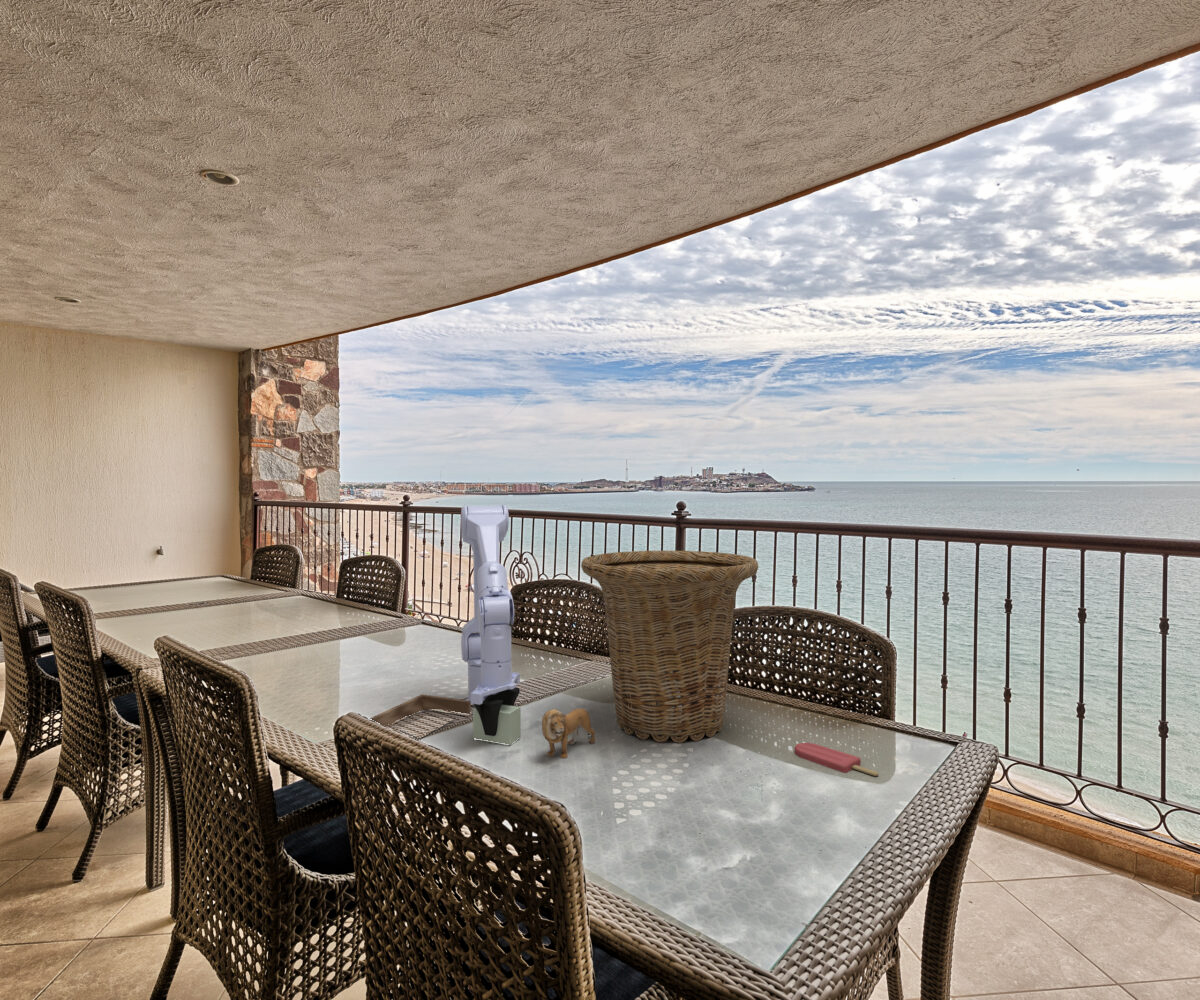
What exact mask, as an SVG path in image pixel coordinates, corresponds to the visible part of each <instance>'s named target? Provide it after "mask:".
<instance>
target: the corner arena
mask: <svg viewBox="0 0 1200 1000" xmlns="http://www.w3.org/2000/svg"><path fill="white" fill-rule="evenodd" d="M429 709H443V710H448V711H455V712H461V713H470V712H471V713H472V706H471V701H467V700H465V699H461V698H460V699H459V698H452V697H451V698H450V697H444V696H436V695H431V694H430V695H429V694H423V693H422V694H419V695H417V696H415V697H413V698H411V699H408V700H407V701H405V702H402V703H400V704H398V705H396V706H394V707H392V708H390V709H387V710H385V711H383V712H380V713H379V714H377V715H375V716H372V717H370V718H369V719H372V720H374V721H376V722H378V723H380V724H382V725H385V726H388V728H390V727H391V726H390V725H392V723H393V722H395V721H396V720H398V719H401V718H403V717H405V716H409V715H412V714H414V713H416V714H417V712H418V713H419V711H420V712H422V711H426V710H429ZM414 715H415V714H414ZM412 716H413V715H412ZM388 724H389V725H388ZM392 726H393V725H392ZM396 729H397V730H398V728H396ZM400 731H401V730H400ZM401 732H403V731H401ZM404 733H405V734H408V733H406V732H404ZM408 735H410V734H408ZM410 736H413V735H410ZM413 737H415V736H413ZM415 738H417V737H415ZM417 740H419V738H418V739H417Z"/></svg>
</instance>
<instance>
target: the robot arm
mask: <svg viewBox="0 0 1200 1000" xmlns="http://www.w3.org/2000/svg"><path fill="white" fill-rule="evenodd" d="M460 513H461V514H460V527H461V529H460V530H461V539H462V542H464V543H466V544H468V545H470V547H471V550H472V553H473V554H472V555H473V556H472V561H473V565H472V566H473V617H472V619H470V620H469V621H467V623H465V624H464V625H463V626H462V629H461V640H460V643H461V644H460V645H461V646H460V647H461V649H460V650H461V651H460V652H461V659H462V661H463V662H465V663H467V684H468V686H467V688H468V689H467V693H468V695H467V696H468V697H467V698H465V699H464V700H467V701H471V704H473V705H474V706H473V707H474V708H476V710H477V711H478V713H479V716H480V718H481V722H482V725H483V729H484V733H485V735H489V736H495V735H496V733H497V727H498V716H499V711H500V708H501V705H509V706H514V705H515V703H516V701H517V698H518V696H519V695H520V692H521V689H520V687H518V684H520V682H521V679H520V678H521V673H520V672H513V671H512V626H513V625H514V620H515V604H514V598H513V595H512V592H511V590H509V583H508V573H507V568H506V567H505V566H504V565H502V564H501V563H500V543H501V542H503V541H504V539H505V537H506V535H507V532H508V531H509V526H510V524H509V519H510V518H509V516H510V515H509V508H508V507H507V506H506V505H505V504H501V505H465V504H463V506H462V507H461V511H460Z"/></svg>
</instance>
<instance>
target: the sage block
mask: <svg viewBox="0 0 1200 1000" xmlns="http://www.w3.org/2000/svg"><path fill="white" fill-rule="evenodd" d="M521 716H522V715H521V706H516V705H515V706H509V705H501V708H500V711H499V716H498V727H497V733H496V735H495V736H489V735H485V733H484V729H483V725H482V722H481V718H480V716H479V713H478V711H477V710H476V708H475V707H473V708H472V739H473V738H476V739H482V740H488V741H493V742H499V743H505V744H509V745H510V744H512V743H513V742H514V741H516V740H517V739H518V738H520V737H521V738H522V734H521V733H522V731H521V730H522V727H521V725H522V724H521V723H522V722H521V720H522V719H521ZM516 742H517V741H516ZM512 745H513V744H512Z"/></svg>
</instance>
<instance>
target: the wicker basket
mask: <svg viewBox="0 0 1200 1000" xmlns="http://www.w3.org/2000/svg"><path fill="white" fill-rule="evenodd" d="M580 564H581V566H580V567H581V570H582V572H583V573H584V574H585V575H587V576H588V577H590V578H592V579H594V580H596V582H597V583H598V584H599V586H600V588H601V590H602V595H603V601H604V609H605V618H606V619H605V620H606V630H607V640H608V651H609V659H610V671H611V679H612V682H611V683H612V690H613V691H612V692H613V699H614V700H613V701H614V707H615V715H616V722H617V726H618V728H619V729H620V730H622V729H623V730H624V733H626V734H627V735H629V736H630V735H633V734H634V733H635V735H636V737H637V738H639V739H640V740H647V739H648V738H650V735H651V737H652V739H653V740H654V741H655V742H657V743H665V742H667V741H668V739H669V738H671V740H672V741H673V742H674V743H677V744H682V743H684V742H685V741H687V740H688V738H690V739H691V740H692V741H694V742H699V741H701V740H703V738H704V736H707V737H708V738H712V737H714V736H715V734H716V733H717V732H721V731H722V729H723V724H724V715H725V709H726V708H725V706H726V697H727V687H728V677H729V675H728V674H729V667H730V666H729V664H730V655H731V654H730V653H731V642H732V632H733V622H734V610H735V601H736V600H735V599H736V596H737V595H736V594H737V591H738V589H739V587H740V585H741V584H742V583H743V582H744V581H745V580H747V579H750V578H752V577H753V576H754V575H756V574H757V572H758V570H759V562H758V560H756V559H755V558H753V557H750V556H747V555H743V554H736V553H735V554H734V553H729V552H718V551H696V550H634V551H632V550H631V551H618V552H608V553H606V552H605V553H600V554H599V553H598V554H594V555H590V556H587V557H584V558H583V559H582V561H581V563H580Z"/></svg>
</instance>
